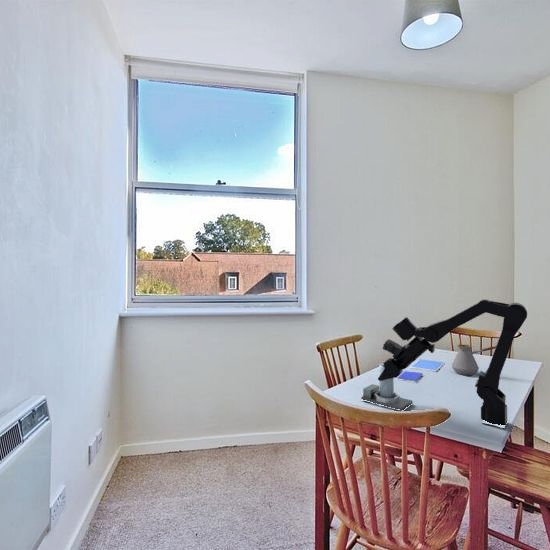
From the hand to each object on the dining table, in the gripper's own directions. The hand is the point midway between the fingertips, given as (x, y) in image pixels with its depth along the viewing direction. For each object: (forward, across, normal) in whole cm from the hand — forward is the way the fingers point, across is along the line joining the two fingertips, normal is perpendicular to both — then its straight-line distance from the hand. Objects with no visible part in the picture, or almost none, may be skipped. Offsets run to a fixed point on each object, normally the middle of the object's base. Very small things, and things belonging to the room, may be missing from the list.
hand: (382, 376), depth 135 cm
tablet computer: (+4, -62, +10) cm, 63 cm away
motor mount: (+6, 0, +8) cm, 10 cm away
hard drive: (+6, -37, +8) cm, 38 cm away
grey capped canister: (+5, 0, +7) cm, 8 cm away
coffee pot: (-12, -56, +26) cm, 63 cm away
